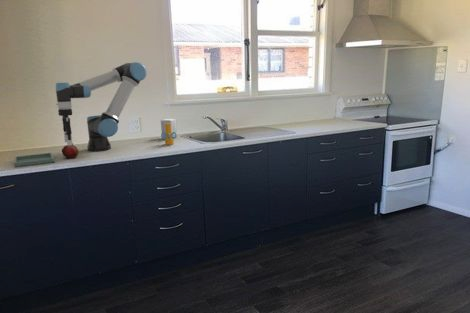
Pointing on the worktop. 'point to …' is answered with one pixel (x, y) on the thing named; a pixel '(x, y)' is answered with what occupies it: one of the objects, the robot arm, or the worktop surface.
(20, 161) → the tray
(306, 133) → the worktop surface
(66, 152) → the fruit
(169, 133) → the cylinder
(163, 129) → the supplement box
